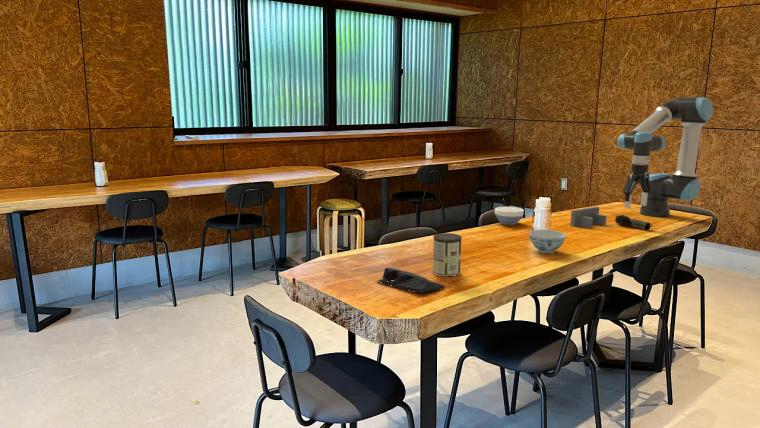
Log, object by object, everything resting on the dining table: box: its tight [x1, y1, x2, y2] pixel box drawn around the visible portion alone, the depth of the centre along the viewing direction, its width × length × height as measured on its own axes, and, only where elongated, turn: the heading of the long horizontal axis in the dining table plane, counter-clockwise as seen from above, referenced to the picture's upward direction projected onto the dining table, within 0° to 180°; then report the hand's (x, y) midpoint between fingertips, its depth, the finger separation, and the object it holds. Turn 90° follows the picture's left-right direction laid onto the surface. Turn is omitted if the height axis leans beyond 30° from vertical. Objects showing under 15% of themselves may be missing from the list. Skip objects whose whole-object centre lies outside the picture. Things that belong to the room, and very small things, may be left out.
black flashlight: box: [614, 214, 651, 231], centre depth 279 cm, size 18×7×6 cm, turn 33°
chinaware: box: [528, 229, 567, 254], centre depth 234 cm, size 15×15×8 cm
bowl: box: [494, 206, 525, 226], centre depth 285 cm, size 14×14×8 cm
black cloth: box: [377, 267, 445, 294], centre depth 192 cm, size 15×22×5 cm
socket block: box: [570, 206, 607, 229], centre depth 283 cm, size 20×9×8 cm, turn 123°
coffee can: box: [432, 232, 463, 277], centre depth 204 cm, size 10×10×14 cm
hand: (635, 206), depth 274 cm, fingers open, 13 cm apart
